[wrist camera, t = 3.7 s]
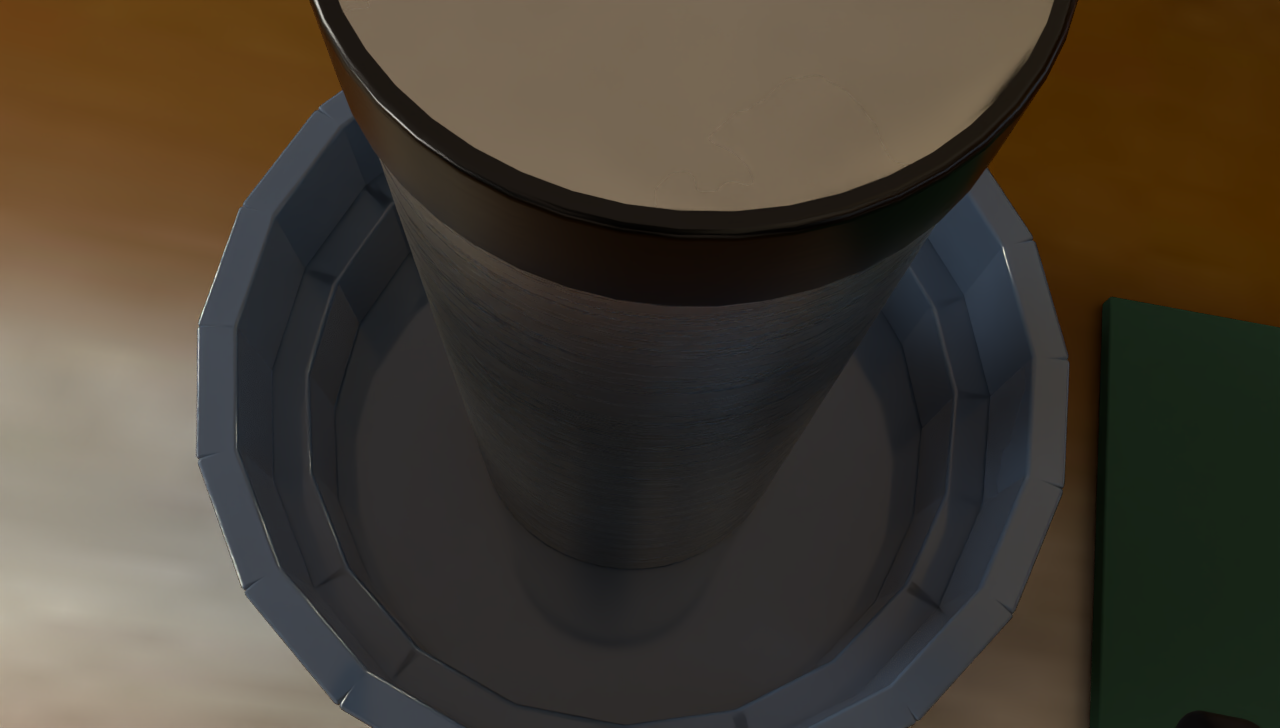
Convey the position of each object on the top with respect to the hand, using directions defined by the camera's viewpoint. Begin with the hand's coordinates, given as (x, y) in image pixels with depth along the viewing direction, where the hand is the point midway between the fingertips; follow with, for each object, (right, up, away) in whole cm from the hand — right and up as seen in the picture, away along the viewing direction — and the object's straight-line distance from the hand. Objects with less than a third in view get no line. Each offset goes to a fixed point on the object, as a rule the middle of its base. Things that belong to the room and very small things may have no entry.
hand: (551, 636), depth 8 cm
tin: (+1, +1, +12) cm, 12 cm away
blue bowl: (0, +1, +13) cm, 13 cm away
